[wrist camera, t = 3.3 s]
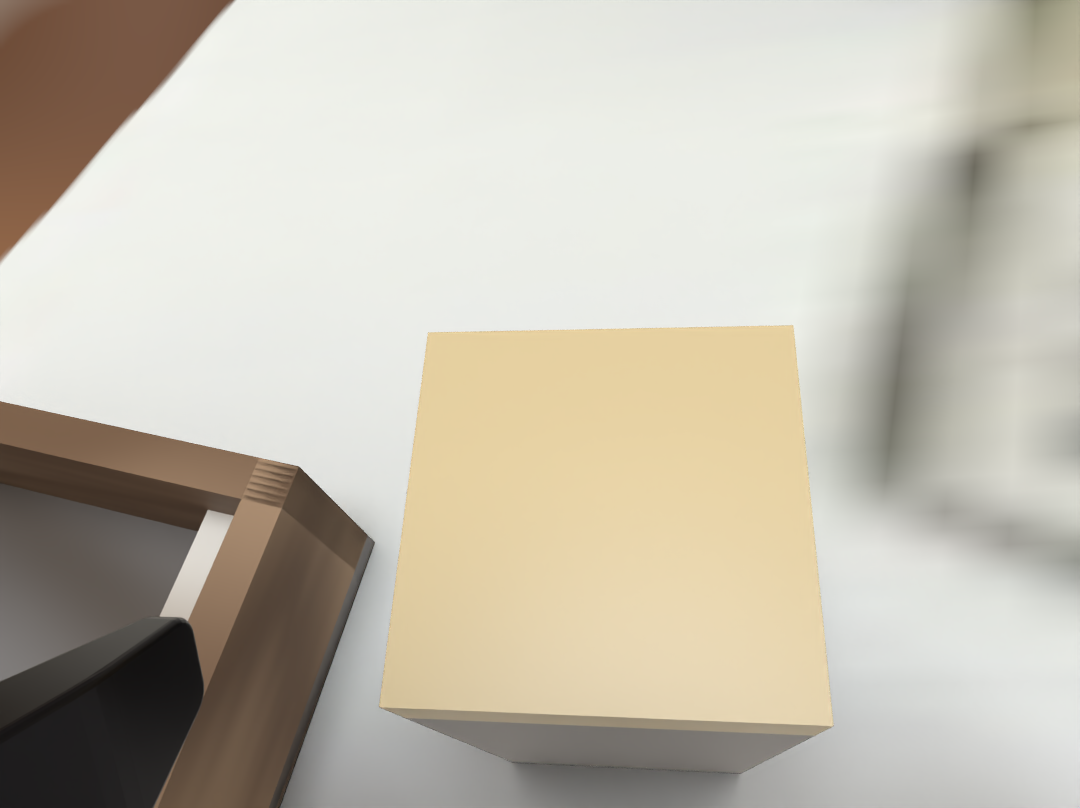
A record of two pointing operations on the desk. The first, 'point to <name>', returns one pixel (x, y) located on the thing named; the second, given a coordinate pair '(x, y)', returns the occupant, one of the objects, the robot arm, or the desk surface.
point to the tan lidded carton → (611, 550)
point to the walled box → (180, 581)
